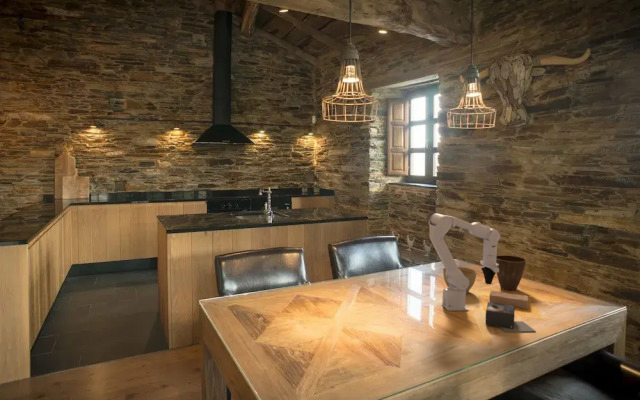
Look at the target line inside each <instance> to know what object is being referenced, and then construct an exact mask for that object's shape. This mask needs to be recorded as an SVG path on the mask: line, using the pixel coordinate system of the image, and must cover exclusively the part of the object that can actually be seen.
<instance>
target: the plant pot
mask: <svg viewBox="0 0 640 400" xmlns="http://www.w3.org/2000/svg"><path fill="white" fill-rule="evenodd" d="M526 262H527V259H526V258H523V257H520V256H516V255H508V254H507V255H506V254H502V255H500V254H499V255H497V257H496V263H497V264H499V266H497V267H498V268H499V272H496V277H497V279H498V280H497V281H498V283H499V287H500V288H501V289H502V290H504V291H513V292H514V291H516V290H517V289H518V287H519V286H520V285H519V284H520V282H521V281H522V278H523V274H524V271H525V267H526V265H527V263H526Z"/></svg>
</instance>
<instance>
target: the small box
mask: <svg viewBox="0 0 640 400" xmlns="http://www.w3.org/2000/svg"><path fill="white" fill-rule="evenodd" d="M486 304H487V306H486V309H485V322H484V323H485V325H487V326H493V327H497V328H500V327H504V328H510V329H514V321H515V309H516V307H514V306H510V305H503V304H496V303H490V301H489V302H487V303H486Z"/></svg>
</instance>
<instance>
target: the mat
mask: <svg viewBox="0 0 640 400" xmlns="http://www.w3.org/2000/svg"><path fill="white" fill-rule="evenodd" d="M499 328H500V330H502V331H503V332H504V333H536V330H535V329H534V328H532V326H530V325H528V324H527V323H525V322H524V321H523V320H522V321H520V320H519V321H515V320H514V329H510V328H504V327H499Z"/></svg>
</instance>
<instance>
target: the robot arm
mask: <svg viewBox="0 0 640 400" xmlns="http://www.w3.org/2000/svg"><path fill="white" fill-rule="evenodd" d="M427 223H428V225H429V236H428V237H429V239H430V242H431V243H432V246H433V249H435V252H436V253H437V256H438V257H439V260H440V261H441V263H442V266H443V267H444V268H445V269H446V272H445V274H446V276H447V282H448V283H449V288H448V287H447V288H443V290H442V303H441V305H442V307H444V308H445V310H446V311H449V312H450V311H451V312H452V311H453V312H454V311H456V312H457V311H458V312H459V311H461V312H462V311H469V308H468V307H466V296H467V295H466V294H467V293H466V289H467V288H468V286H469V280H468V278H466V277H465V276H464V275H463V273H462V272H461V271H460V270H459V268H458V267H459V266H458V265H457V262H456V261H455V259H454V257H453V255H452V253H451V251H450V249H449V247H448V245H447V243H446V242H445V239H444V237H445V235H446V234H447V233H448V231H449V230H450V229H451V228H455V227H458V228H462V229H463V230H467V231H468V233H469V234H470V235H472V236H474V237H476V238H477V237H478V238H480V239H483V242H482V243H483V245H482V246H483V247H482V248H483V249H482V259H480V261H479V262H480V263H479V265H482V266H483V267H481V269H480V270H481V271H482V273H483V278H484V282H485V284H486V285H492V282H493V280H494V277H495V275H497V272H499V268H498V267H497V266H499V264H497V263H496V257H497V256H498V255H497V254H498V253H497V252H498V242H499V240H500V239H501V237H502V236H501V234H500V232H499V230H498V229H496V228H492V227H491V226H489V225H485V224H482V223H481V222H479V221H474V222H471V223H470V222H468V221H465V220H463V219H461V218H458V217H455V216H451V215H446V214H441V213H437V212H435V213H433V214H432V215H431V216H430V218H429V220H428V222H427Z"/></svg>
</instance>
